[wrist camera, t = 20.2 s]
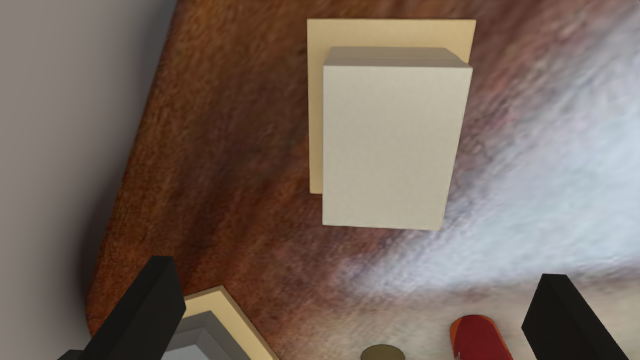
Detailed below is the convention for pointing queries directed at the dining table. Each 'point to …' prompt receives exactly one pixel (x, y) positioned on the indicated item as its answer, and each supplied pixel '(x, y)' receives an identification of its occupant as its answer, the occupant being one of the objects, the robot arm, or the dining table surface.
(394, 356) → the pepper shaker
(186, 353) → the grey stack
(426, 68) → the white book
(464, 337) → the paper cup
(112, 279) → the dining table surface
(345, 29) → the cream box
